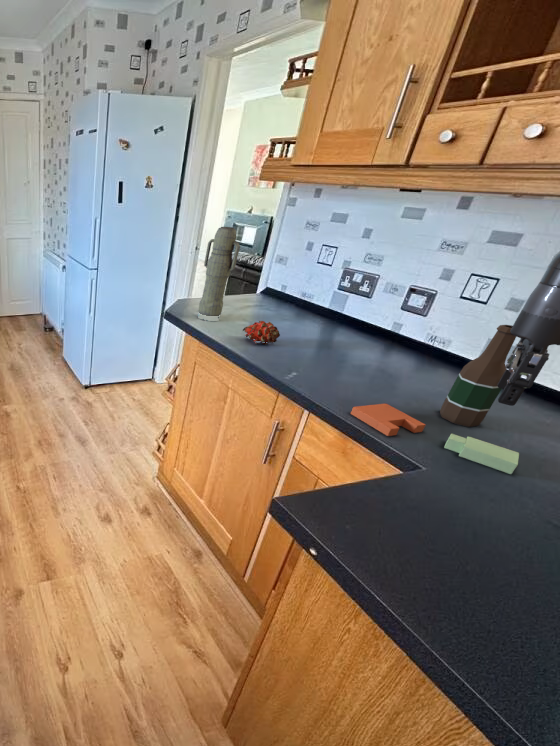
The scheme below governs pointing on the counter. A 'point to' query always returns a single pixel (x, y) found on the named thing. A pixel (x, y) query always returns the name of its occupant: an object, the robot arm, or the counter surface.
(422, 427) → the orange pad
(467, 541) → the counter surface
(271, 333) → the dragon fruit
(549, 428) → the counter surface
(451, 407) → the beer bottle
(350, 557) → the counter surface
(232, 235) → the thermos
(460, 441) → the sage pad
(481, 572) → the counter surface
